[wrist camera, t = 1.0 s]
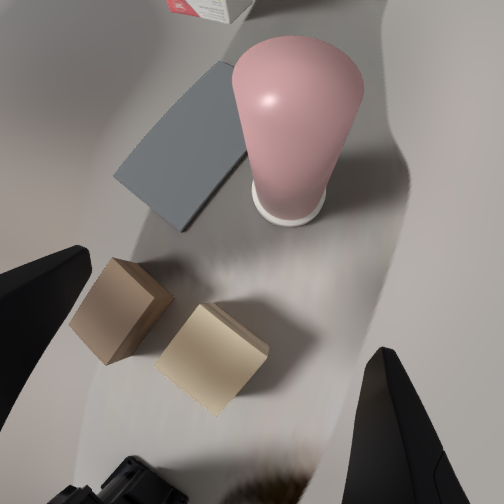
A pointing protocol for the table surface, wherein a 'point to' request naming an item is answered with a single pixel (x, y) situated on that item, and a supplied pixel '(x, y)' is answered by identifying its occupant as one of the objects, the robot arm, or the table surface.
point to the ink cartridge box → (210, 8)
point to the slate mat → (188, 150)
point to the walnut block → (119, 310)
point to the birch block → (212, 357)
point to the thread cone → (294, 122)
